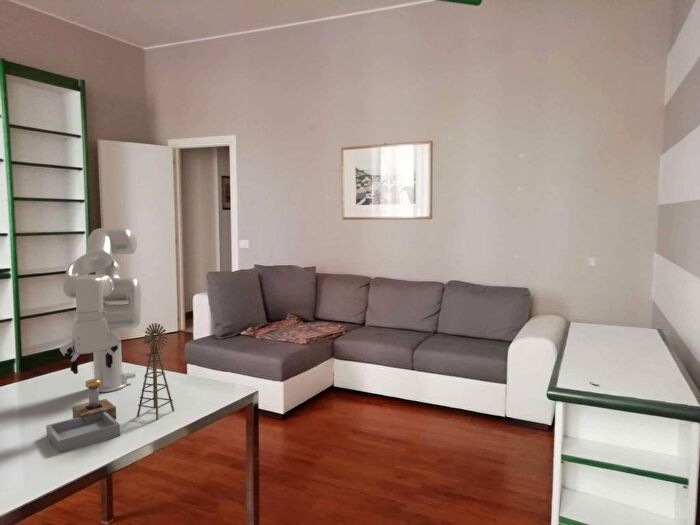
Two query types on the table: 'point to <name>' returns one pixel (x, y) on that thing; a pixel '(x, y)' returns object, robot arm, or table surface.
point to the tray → (82, 431)
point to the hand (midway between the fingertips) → (92, 369)
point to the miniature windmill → (154, 368)
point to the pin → (93, 393)
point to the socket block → (94, 410)
